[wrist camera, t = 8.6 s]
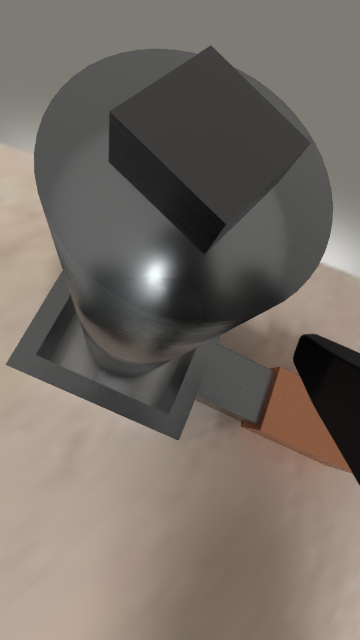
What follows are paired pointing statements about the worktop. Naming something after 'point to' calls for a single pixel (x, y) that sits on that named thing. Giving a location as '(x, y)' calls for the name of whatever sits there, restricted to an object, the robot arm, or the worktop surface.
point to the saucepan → (175, 384)
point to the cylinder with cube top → (176, 202)
